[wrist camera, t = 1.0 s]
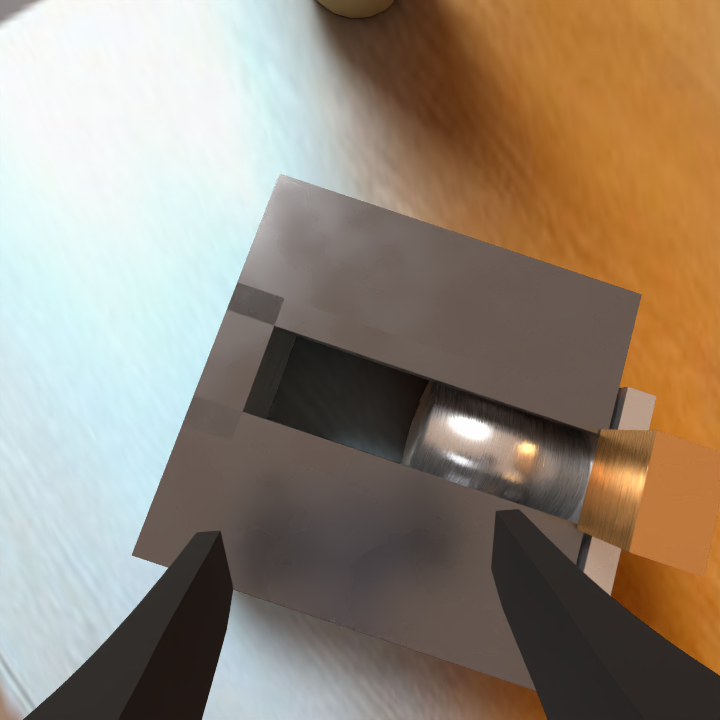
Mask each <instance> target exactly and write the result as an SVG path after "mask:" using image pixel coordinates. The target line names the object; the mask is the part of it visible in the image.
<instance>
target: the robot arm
mask: <svg viewBox="0 0 720 720" xmlns="http://www.w3.org/2000/svg"><path fill="white" fill-rule="evenodd" d="M491 570H492V574H493V578H494V581H495V585H496V588H497V592H498V595H499V598H500V602H501V605H502V608H503V611H504V613H505V616H506V618H507V621H508V623H509V626H510V628H511V631H512V633H513V636H514V638H515V640H516V643H517V645H518V648H519V650H520V653H521V655H522V657H523V660H524V662H525V665H526V667H527V669H528V672H529V674H530V677H531V679H532V681H533V684H534V686H535V689H536V691H537V694H538V696H539V698H540V701H541V703H542V706H543V709H544V711H545V714H546V717H547V719H548V720H720V676H719V675H718V674H716V673H715V672H713V671H712V670H710V669H709V668H707V667H706V666H704V665H703V664H701V663H700V662H698V661H697V660H695V659H694V658H692V657H691V656H689V655H688V654H686V653H685V652H683V651H682V650H680V649H679V648H678V647H676V646H675V645H673V644H672V643H671V642H669V641H668V640H666V639H665V638H664V637H662V636H661V635H660V634H658V633H657V632H656V631H654V630H653V629H652V628H650V627H649V626H648V625H646V624H645V623H644V622H642V621H641V620H640V619H638V618H637V617H636V616H634V615H633V614H632V613H631V612H629V611H628V610H627V609H626V608H624V607H623V606H622V605H621V604H620V603H618V602H617V601H616V600H615V599H614V598H612V597H611V596H610V595H609V594H608V593H607V592H605V591H604V590H603V589H602V588H601V587H600V586H599V585H597V584H596V583H595V582H594V581H593V580H592V579H591V578H590V577H588V576H587V575H586V574H585V573H584V572H583V571H582V570H581V569H580V568H579V567H578V566H577V565H575V564H574V563H573V562H572V561H571V560H570V559H569V558H568V557H567V556H566V555H565V554H564V553H563V552H562V551H561V550H560V549H559V548H558V547H557V546H556V545H555V544H554V543H553V542H552V541H551V540H549V539H548V538H547V537H546V536H545V535H544V534H543V533H542V532H541V531H540V529H539V528H538V527H537V526H536V525H535V524H534V523H533V522H532V521H531V520H530V519H529V518H528V517H527V516H526V515H525V514H524V513H523V512H522V511H520V510H519V509H512V510H498V511H496V514H495V526H494V538H493V550H492V563H491ZM232 593H233V584H232V580H231V575H230V571H229V566H228V562H227V557H226V553H225V548H224V544H223V539H222V535H221V530H220V531H207V532H197V533H196V534H195V535H194V536H193V537H192V539H191V540H190V541H189V542H188V544H187V545H186V546H185V547H184V549H183V550H182V551H181V553H180V554H179V555H178V556H177V558H176V559H175V560H174V562H173V563H172V564H171V565H170V567H169V568H168V569H167V570H166V572H165V573H164V574H163V575H162V577H161V578H160V579H159V580H158V582H157V583H156V584H155V585H154V586H153V588H152V589H151V590H150V591H149V592H148V594H147V595H146V596H145V597H144V598H143V600H142V601H141V602H140V603H139V604H138V606H137V607H136V608H135V609H134V610H133V611H132V612H131V614H130V615H129V616H128V617H127V618H126V619H125V620H124V621H123V622H122V624H121V625H120V626H119V627H118V628H117V629H116V630H115V631H114V632H113V634H112V635H111V636H110V637H109V638H108V639H107V640H106V641H105V642H104V643H103V644H102V645H101V646H100V648H99V649H98V650H97V651H96V652H95V653H94V654H93V655H92V656H91V657H90V658H89V659H88V660H87V661H86V662H85V663H84V664H83V665H82V666H81V667H80V668H79V669H78V670H77V671H76V672H75V673H74V674H73V675H72V676H71V677H70V678H69V679H68V680H67V681H66V682H64V683H63V684H62V685H61V686H60V687H59V688H58V689H57V690H56V691H55V692H54V693H53V694H51V695H50V696H49V697H48V698H47V699H46V700H45V701H44V702H42V703H41V704H40V705H39V706H38V707H37V708H36V709H35V710H33V711H32V712H31V713H30V714H29V715H28V716H27V717H25V718H24V719H23V720H202V717H203V713H204V710H205V706H206V702H207V699H208V695H209V692H210V688H211V685H212V681H213V677H214V674H215V670H216V667H217V663H218V659H219V656H220V652H221V649H222V645H223V641H224V637H225V634H226V630H227V624H228V619H229V613H230V606H231V600H232Z"/></svg>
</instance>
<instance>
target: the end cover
mask: <svg viewBox="0 0 720 720" xmlns="http://www.w3.org/2000/svg"><path fill="white" fill-rule="evenodd" d="M655 400H656V396H654V395H651V394H648V393H645V392H642V391H639V390H636V389H633V388H630V387H624V388H619V389H618V393H617V398H616V402H615V406H614V410H613V414H612V418H611V422H610V426H609V429H601V432H600V436H599V437H597V436H594V435H591V434H588V433H585V432H582V431H579V430H576V429H573V428H570V427H567V426H564V425H561V424H558V423H555V422H552V421H549V420H546V419H543V418H540V417H537V416H534V415H531V414H528V413H525V412H522V411H519V410H516V409H513V408H510V407H507V406H504V405H502V404H499V403H496V402H493V401H490V400H487V399H484V398H481V397H478V396H475V395H472V394H469V393H466V392H463V391H460V390H457V389H454V388H451V387H448V386H445V385H442V384H439V383H436V382H433V381H430V382H429V383H428V385H427V386H426V388H425V390H424V392H423V394H422V397H421V399H420V401H419V404H418V406H417V409H416V412H415V414H414V417H413V420H412V423H411V426H410V430H409V433H408V437H407V441H406V445H405V449H404V454H403V459H402V464H403V465H406V466H408V467H411V468H414V469H417V470H420V471H423V472H426V473H429V474H432V475H435V476H438V477H441V478H444V479H447V480H450V481H453V482H456V483H459V484H462V485H465V486H468V487H471V488H474V489H477V490H480V491H483V492H486V493H489V494H492V495H495V496H498V497H501V498H504V499H507V500H510V501H513V502H516V503H519V504H522V505H525V506H528V507H531V508H534V509H537V510H540V511H543V512H546V513H549V514H552V515H555V516H558V517H561V518H564V519H567V520H570V521H573V522H576V523H578V526H577V530H580V531H582V532H584V533H583V537H582V541H581V546H580V550H579V554H578V558H577V562H576V565H577V566H578V567H579V568H580V569H581V570H582V571H583V572H584V573H585V574H586V575H587V576H588V577H590V578H591V579H592V580H593V581H594V582H595V583H596V584H597V585H599V586H600V587H601V588H602V589H603V590H604V591H605V592H607V593H608V594H609V595H610V596H611V592H612V587H613V583H614V579H615V574H616V570H617V566H618V561H619V557H620V553H621V549H623V550H625V551H627V552H630V553H633V554H636V555H639V556H642V557H645V558H648V559H650V560H653V561H656V562H659V563H662V564H665V565H668V566H671V567H674V568H677V569H680V570H683V571H686V572H689V573H692V574H695V575H698V576H701V577H705V572H706V567H707V562H708V557H709V552H710V547H711V542H712V538H713V533H714V528H715V523H716V518H717V513H718V508H719V503H720V451H717V450H714V449H711V448H708V447H705V446H702V445H699V444H696V443H693V442H690V441H687V440H684V439H681V438H678V437H675V436H672V435H669V434H666V433H663V432H660V431H657V430H649V426H650V422H651V418H652V413H653V409H654V405H655Z"/></svg>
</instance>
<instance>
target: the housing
mask: <svg viewBox="0 0 720 720" xmlns="http://www.w3.org/2000/svg"><path fill="white" fill-rule="evenodd" d="M641 295H642V294H639V293H636V292H633V291H630V290H627V289H624V288H621V287H618V286H615V285H612V284H609V283H606V282H603V281H600V280H597V279H594V278H591V277H588V276H585V275H582V274H579V273H576V272H573V271H570V270H567V269H564V268H561V267H558V266H555V265H552V264H549V263H546V262H543V261H540V260H537V259H534V258H531V257H528V256H525V255H522V254H519V253H516V252H513V251H510V250H507V249H504V248H501V247H498V246H495V245H492V244H489V243H486V242H483V241H480V240H477V239H474V238H471V237H468V236H465V235H462V234H459V233H456V232H453V231H450V230H447V229H444V228H441V227H438V226H435V225H432V224H429V223H426V222H423V221H420V220H417V219H414V218H411V217H408V216H405V215H402V214H399V213H396V212H393V211H390V210H387V209H384V208H381V207H378V206H375V205H372V204H369V203H366V202H363V201H360V200H357V199H354V198H351V197H348V196H345V195H342V194H339V193H336V192H333V191H330V190H327V189H324V188H321V187H318V186H315V185H312V184H309V183H306V182H303V181H300V180H297V179H294V178H291V177H288V176H285V175H282V174H279V177H278V179H277V182H276V184H275V187H274V189H273V192H272V195H271V197H270V200H269V202H268V205H267V207H266V210H265V213H264V215H263V218H262V220H261V223H260V226H259V228H258V231H257V233H256V236H255V238H254V241H253V244H252V246H251V249H250V251H249V254H248V256H247V259H246V262H245V264H244V267H243V269H242V272H241V275H240V277H239V280H238V282H237V285H236V287H235V290H234V293H233V295H232V298H231V300H230V303H229V305H228V308H227V311H226V313H225V316H224V318H223V321H222V324H221V326H220V329H219V331H218V334H217V336H216V339H215V342H214V344H213V347H212V349H211V352H210V354H209V357H208V360H207V362H206V365H205V367H204V370H203V373H202V375H201V378H200V380H199V383H198V385H197V388H196V391H195V393H194V396H193V398H192V401H191V403H190V406H189V409H188V411H187V414H186V416H185V419H184V422H183V424H182V427H181V429H180V432H179V434H178V437H177V440H176V442H175V445H174V447H173V450H172V452H171V455H170V458H169V460H168V463H167V465H166V468H165V471H164V473H163V476H162V478H161V481H160V483H159V486H158V489H157V491H156V494H155V496H154V499H153V501H152V504H151V507H150V509H149V512H148V514H147V517H146V520H145V522H144V525H143V527H142V530H141V532H140V535H139V538H138V540H137V543H136V545H135V548H134V550H133V553H132V556H135V557H138V558H141V559H144V560H147V561H150V562H153V563H156V564H159V565H162V566H165V567H168V568H169V567H170V565H171V564H172V563H173V562H174V560H175V559H176V558H177V556H178V555H179V554H180V553H181V551H182V550H183V549H184V547H185V546H186V545H187V544H188V542H189V541H190V540H191V539H192V537H193V536H194V535H195V534H196V533H197V532H207V531H220V530H221V535H222V539H223V544H224V548H225V553H226V557H227V562H228V566H229V571H230V575H231V580H232V584H233V589H234V590H237V591H240V592H243V593H246V594H249V595H251V596H254V597H257V598H260V599H263V600H266V601H269V602H272V603H275V604H278V605H281V606H284V607H287V608H290V609H293V610H296V611H299V612H302V613H305V614H308V615H311V616H314V617H317V618H320V619H323V620H326V621H329V622H332V623H335V624H338V625H341V626H344V627H347V628H350V629H353V630H356V631H359V632H362V633H365V634H368V635H371V636H374V637H377V638H380V639H383V640H386V641H388V642H391V643H394V644H397V645H400V646H403V647H406V648H409V649H412V650H415V651H418V652H421V653H424V654H427V655H430V656H433V657H436V658H439V659H442V660H445V661H448V662H451V663H454V664H457V665H460V666H463V667H466V668H469V669H472V670H475V671H478V672H481V673H484V674H487V675H490V676H493V677H496V678H499V679H502V680H505V681H508V682H511V683H514V684H517V685H520V686H522V687H525V688H528V689H531V690H534V691H536V689H535V686H534V684H533V681H532V679H531V677H530V674H529V672H528V669H527V667H526V665H525V662H524V660H523V657H522V655H521V653H520V650H519V648H518V645H517V643H516V640H515V638H514V636H513V633H512V631H511V628H510V626H509V623H508V621H507V618H506V616H505V613H504V611H503V608H502V605H501V602H500V598H499V595H498V592H497V588H496V585H495V581H494V578H493V574H492V570H491V563H492V550H493V538H494V526H495V514H496V511H498V510H512V509H519V510H520V511H522V512H523V513H524V514H525V515H526V516H527V517H528V518H529V519H530V520H531V521H532V522H533V523H534V524H535V525H536V526H537V527H538V528H539V529H540V531H541V532H542V533H543V534H544V535H545V536H546V537H547V538H548V539H549V540H551V541H552V542H553V543H554V544H555V545H556V546H557V547H558V548H559V549H560V550H561V551H562V552H563V553H564V554H565V555H566V556H567V557H568V558H569V559H570V560H571V561H572V562H573V563H574V564H575V565H576V562H577V558H578V554H579V550H580V546H581V541H582V537H583V533H584V532H582V531H580V530H577V526H578V523H576V522H573V521H570V520H567V519H564V518H561V517H558V516H555V515H552V514H549V513H546V512H543V511H540V510H537V509H534V508H531V507H528V506H525V505H522V504H519V503H516V502H513V501H510V500H507V499H504V498H501V497H498V496H495V495H492V494H489V493H486V492H483V491H480V490H477V489H474V488H471V487H468V486H465V485H462V484H459V483H456V482H453V481H450V480H447V479H444V478H441V477H438V476H435V475H432V474H429V473H426V472H423V471H420V470H417V469H414V468H411V467H408V466H406V465H403V464H400V463H397V462H394V461H391V460H388V459H385V458H382V457H379V456H376V455H373V454H370V453H367V452H364V451H361V450H358V449H355V448H352V447H349V446H346V445H343V444H340V443H337V442H334V441H331V440H328V439H325V438H322V437H319V436H316V435H313V434H310V433H307V432H304V431H301V430H298V429H295V428H292V427H289V426H286V425H283V424H280V423H277V422H274V421H271V420H268V419H267V417H268V415H269V412H270V409H271V406H272V404H273V401H274V398H275V395H276V392H277V390H278V387H279V384H280V381H281V379H282V376H283V373H284V370H285V367H286V365H287V362H288V359H289V356H290V354H291V351H292V348H293V345H294V342H295V340H296V337H297V336H298V337H301V338H304V339H307V340H310V341H313V342H316V343H319V344H322V345H325V346H328V347H331V348H334V349H337V350H340V351H343V352H346V353H349V354H352V355H355V356H358V357H361V358H364V359H367V360H370V361H373V362H376V363H379V364H382V365H385V366H388V367H391V368H394V369H397V370H400V371H403V372H406V373H409V374H412V375H415V376H418V377H421V378H424V379H427V380H430V381H433V382H436V383H439V384H442V385H445V386H448V387H451V388H454V389H457V390H460V391H463V392H466V393H469V394H472V395H475V396H478V397H481V398H484V399H487V400H490V401H493V402H496V403H499V404H502V405H504V406H507V407H510V408H513V409H516V410H519V411H522V412H525V413H528V414H531V415H534V416H537V417H540V418H543V419H546V420H549V421H552V422H555V423H558V424H561V425H564V426H567V427H570V428H573V429H576V430H579V431H582V432H585V433H588V434H591V435H594V436H597V437H599V436H600V432H601V429H609V426H610V422H611V418H612V414H613V410H614V406H615V402H616V398H617V393H618V389H619V385H620V381H621V377H622V373H623V369H624V365H625V361H626V356H627V352H628V348H629V344H630V340H631V336H632V332H633V328H634V324H635V319H636V315H637V311H638V307H639V303H640V299H641Z"/></svg>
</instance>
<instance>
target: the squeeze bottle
mask: <svg viewBox="0 0 720 720" xmlns="http://www.w3.org/2000/svg"><path fill="white" fill-rule="evenodd" d="M317 1H318V2H319V3H320V4H322V5H323V6H324V7H326V8H327V9H329V10H330V11H331V12H333V13H335V14H339V15H342V16H346V17H349V18H360V17H371V16H373V15H375V14H377V13H380V12H382V11H384V10H386V9H387V8H388V7H389V6H390V5H391V4H392V3H393V2H394V1H395V0H317Z"/></svg>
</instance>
